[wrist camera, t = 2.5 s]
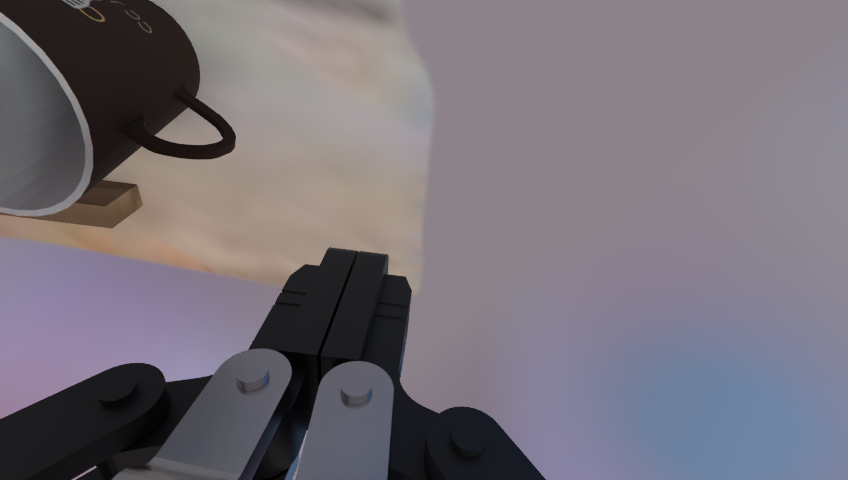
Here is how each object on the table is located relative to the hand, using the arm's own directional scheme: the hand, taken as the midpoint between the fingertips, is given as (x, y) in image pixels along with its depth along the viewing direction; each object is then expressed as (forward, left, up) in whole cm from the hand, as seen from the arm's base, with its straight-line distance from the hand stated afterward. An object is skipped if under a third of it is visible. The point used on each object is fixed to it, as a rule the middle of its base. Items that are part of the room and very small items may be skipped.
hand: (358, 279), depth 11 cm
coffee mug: (0, -14, -16) cm, 21 cm away
